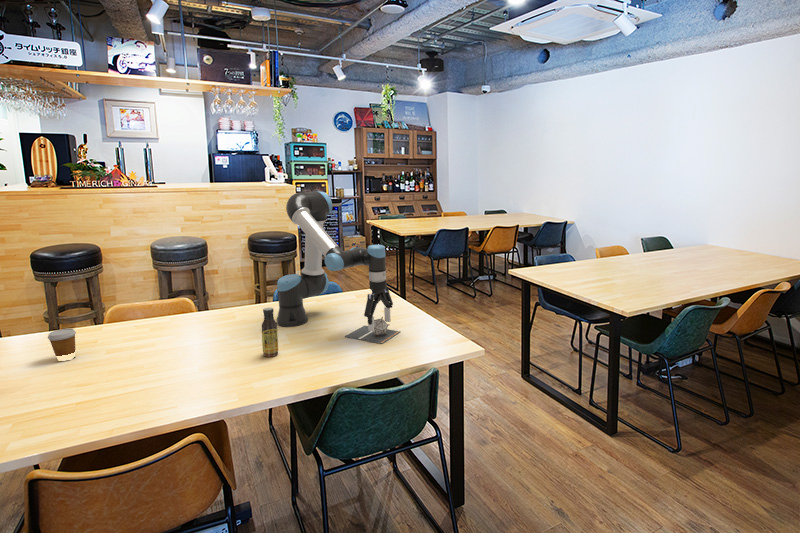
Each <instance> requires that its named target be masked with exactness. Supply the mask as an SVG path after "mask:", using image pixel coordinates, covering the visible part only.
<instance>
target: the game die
mask: <svg viewBox="0 0 800 533" xmlns="http://www.w3.org/2000/svg"><path fill="white" fill-rule="evenodd" d="M383 317H384V316H381V318H376V319H374V330H375V331H373V332H374V333H375V335H376V337H377V336H378V335H382V334H385V335H386V330H387V329H388V327H389V326H390V325H391V324H388V322H386V321H385V319H383Z"/></svg>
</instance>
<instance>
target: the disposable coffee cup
mask: <svg viewBox="0 0 800 533" xmlns="http://www.w3.org/2000/svg"><path fill="white" fill-rule="evenodd" d="M76 333H77V331H75V329H74V328H62V329H57V330H53V331H51V332H49V333H48V336H47V339H48V341H49V342H50V344H51V347H52V350H53V353H54V355H55V357H56V356H62V355H68V354H71V353H74V352H75V350H76Z"/></svg>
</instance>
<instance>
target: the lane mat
mask: <svg viewBox="0 0 800 533" xmlns="http://www.w3.org/2000/svg"><path fill="white" fill-rule="evenodd" d="M401 332H402V331H399V330H394V329H388V328H387V330H386V335H385V334H382V335H378V336H377V337H376V335H375V333H374V332H373V331H368V325H363V326H361V327H359V328H357V329H355V330H353V331H352V332H350V333H348V334H346V335H344V338H347V339H354V340H358V341H363V342H368V343H374V344H379V345H383V344H384V343H387V342H388V341H389V340H391V339H393V338H394V337H396V336H397V335H399V334H400V333H401Z"/></svg>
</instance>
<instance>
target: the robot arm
mask: <svg viewBox="0 0 800 533" xmlns="http://www.w3.org/2000/svg"><path fill="white" fill-rule="evenodd" d="M285 207H286V214H287V216H288V218H289V220H290V221H291V222H292V223H293V224H294V225H297V226H298V227H299V228H300V229H301V230H302V232H303V233H304V234H305V239H304V243H305V244H304V266H303V268H302V269H301V272H300V274H301V275H300V274H298V273H293V274H292V273H291V274H287V275H286V274H285V275H284V276H281V277H280V278H278V280H277V286H276V290H277V297H278V299H277V300H278V311H277V312H278V313H277V317H276V323H277V325H278V326H280V327H284V328H285V327H287V328H288V327H297V326H301V325H304V324H306V323H307V322H308V320H309V319H308V318H309V317H308V314H307V312H306V309H305V308H304V300H305V299H308V298H313V297H316V296H319V295H321V294H325V293H326V291H327V290H328V288H329V285H330V283H329V278H328V277H329V276H328V274H327V273H326V271H325V270H324V269H323V267H322V265H323V263H322V262H323V256H324V264H325V267H326V269H327V270H329V271H331V272H336V271H341V270H344V269H348V268H352V267H358V266H366V267H368V279H369V289H370V290H371V293H368V294H367V298H366V299H367V300H366V304H365V310H364V313H363V316H364V317H366V318H367V326H368V331H375V330H374V320H375V317H374V313H375V311H376V308H377V305H378V304H379V302H381V303H382V304H383V306H384V308H383V310H384V311H383V312H384V321H385V322H386V323H391V309H392V308H393V305H394V302H393V299H392V296H391V294H390V290H389V289H390V288H389V287H387V284H388V283H387V271H386V270H387V266H386V265H387V264H386V263H387V262H386V256H387V255H386V248H385V246H384V245H383V244H372V245H370V244H369V245H368V246H367V248H365V247H360V246H358V247H355V246H354V247H350V249H348V250H342V248H341V247H340V246H339V245H338V244H337V242H335V241H334V239H333V238H332V237H331V236H330V234H328V233H327V231H326V230H325V229H324V223H325V222H326V221H328V219H327V218H328V217H327V216H328V215H330V214H331V213H332V211H333V202H332V198H330V195H328V194H327V193H326V192H325V191H318V190H316V191H305V192H295V193H294V194H292V195H291V196H290V197H289V198H288V200H287V202H286V206H285Z"/></svg>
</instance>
